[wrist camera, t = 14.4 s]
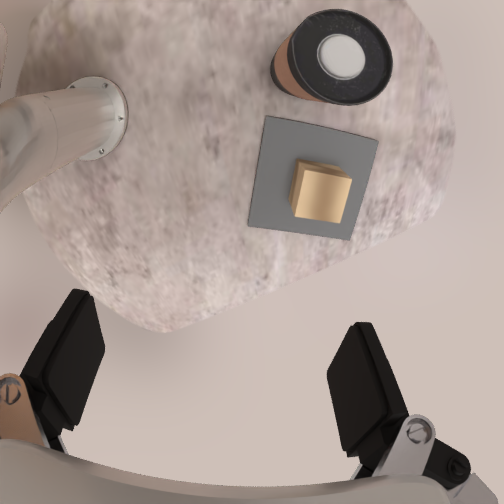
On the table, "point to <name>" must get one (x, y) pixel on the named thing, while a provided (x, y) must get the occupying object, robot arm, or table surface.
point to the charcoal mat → (282, 169)
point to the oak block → (319, 191)
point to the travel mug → (334, 59)
